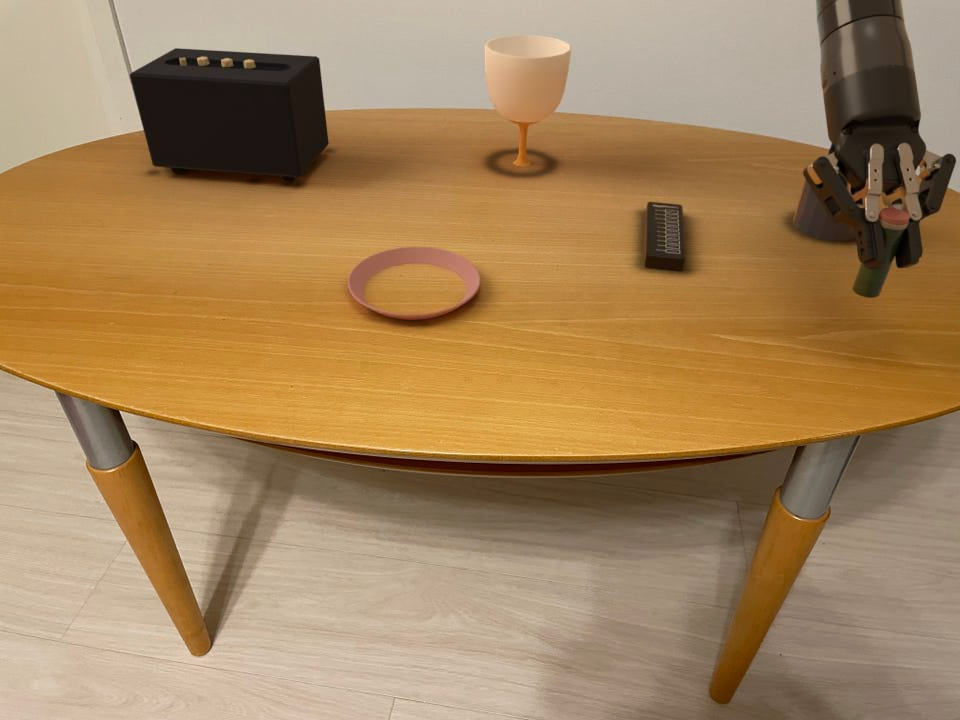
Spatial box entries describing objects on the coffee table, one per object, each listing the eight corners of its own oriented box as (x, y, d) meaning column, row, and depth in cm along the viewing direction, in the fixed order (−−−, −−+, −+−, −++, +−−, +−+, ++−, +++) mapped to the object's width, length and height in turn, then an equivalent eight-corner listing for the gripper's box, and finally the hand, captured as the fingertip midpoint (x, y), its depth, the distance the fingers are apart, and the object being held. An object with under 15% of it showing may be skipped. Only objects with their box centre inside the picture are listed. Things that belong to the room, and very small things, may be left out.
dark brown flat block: (643, 272, 86) (646, 254, 84) (644, 217, 97) (647, 200, 96) (682, 276, 85) (685, 258, 84) (679, 220, 96) (682, 204, 95)
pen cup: (854, 223, 97) (874, 168, 92) (858, 250, 91) (879, 193, 86) (791, 213, 99) (807, 159, 94) (791, 239, 93) (808, 183, 88)
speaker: (330, 154, 113) (319, 50, 103) (302, 188, 102) (287, 77, 93) (195, 144, 115) (173, 41, 106) (154, 177, 105) (126, 67, 96)
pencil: (879, 287, 70) (909, 209, 66) (881, 300, 68) (912, 221, 64) (850, 282, 71) (878, 205, 66) (852, 295, 69) (881, 217, 64)
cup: (550, 188, 104) (561, 61, 94) (471, 176, 107) (472, 52, 96) (569, 157, 113) (580, 39, 103) (495, 147, 116) (498, 31, 105)
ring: (492, 323, 77) (493, 307, 76) (353, 337, 74) (352, 321, 73) (467, 256, 88) (467, 241, 87) (345, 267, 86) (343, 251, 84)
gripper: (815, 62, 64) (840, 257, 61) (968, 60, 65) (998, 252, 63) (775, 104, 71) (795, 279, 69) (913, 101, 72) (937, 274, 70)
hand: (892, 265), depth 66 cm, fingers closed on pencil, 2 cm apart
